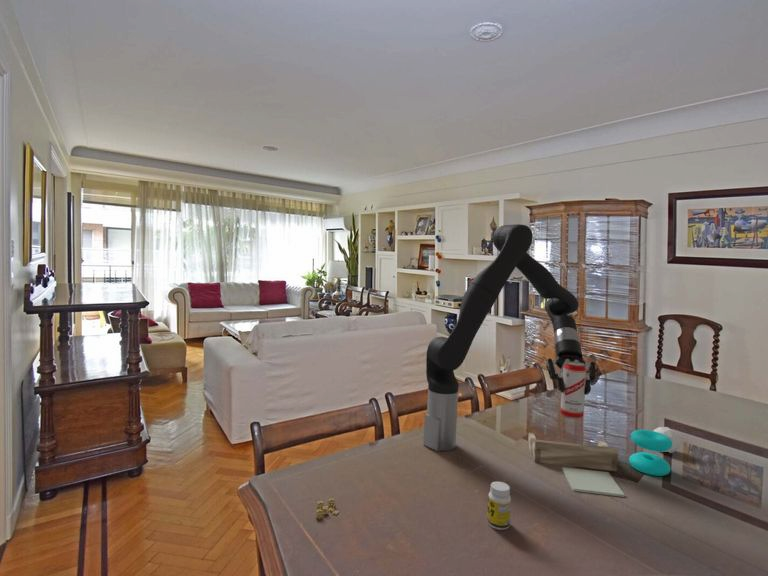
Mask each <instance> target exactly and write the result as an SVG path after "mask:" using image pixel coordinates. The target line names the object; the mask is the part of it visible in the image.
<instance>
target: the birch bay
mask: <svg viewBox="0 0 768 576" xmlns="http://www.w3.org/2000/svg"><path fill="white" fill-rule="evenodd" d="M535 435H536V434H535V432H528V437H527V446H528V448H529V451H530V454H531V457H532V460H533V461H534V463H540V464H550V465H557V466H558V465H559V466H564V467H566V466H568V467H573V468H575V467H576V468H586V469H594V470H600V471H612V472H618V463H619V449H618V448H617V447H610V446H609V445H608V444H607V443H606V441H605V440H604V439H597V445H593V444H592V445H591V444H580V443H570V442H563V441H562V442H561V441H551V440H542V439H537V438H536V436H535Z"/></svg>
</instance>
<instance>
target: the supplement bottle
mask: <svg viewBox="0 0 768 576" xmlns="http://www.w3.org/2000/svg"><path fill="white" fill-rule="evenodd" d="M489 488H490V489H489V492H488V496H487V514H486V520H487V521H486V523H487V524H488V525H489V527H491V528H492V529H494V530H500V531H501V530H502V531H503V530H507V529H508V528H510V525H511V507H512V505H511V503H512V498H511V495H510V494H511V491H510V490H511V488H510V485H509V484H507V483H505V482H502V481H493V482H491V483H490V487H489Z"/></svg>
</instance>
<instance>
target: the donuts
mask: <svg viewBox="0 0 768 576" xmlns="http://www.w3.org/2000/svg"><path fill="white" fill-rule="evenodd" d="M630 439H631V441H632V443H634V444H635V445H636V446H638V447H640V448H642V449H644V450H647V451H651V452H660V453H663V452H662V451H667V450H669V449H670V448H671V447H672V441H671V439H670V438H669V437H667V436H666V435H664V434H661V433H658V432H655V431H653V430H649V429H635V430H633V431H632V432H631V434H630ZM628 461H629V464H630V465H631V467H632V468H633V469H635V470H637V471H638V472H640V473H643V474H647V475H649V476H656V477H657V476H658V477H663V476H667V475H668V474H670V472H671V465H670V464H669V462H668V461H667V460H666V459H665V458H664V457H661V456H659V455H656V454H653V453H650V452H643V451H642V452H641V451H640V452H635V453H633V454H632V455H630V456H629V459H628Z"/></svg>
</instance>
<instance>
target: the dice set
mask: <svg viewBox="0 0 768 576" xmlns="http://www.w3.org/2000/svg"><path fill="white" fill-rule="evenodd" d="M335 506H336V499H335V498H329V499H328V505H325V503H324V501H321V500H320V501H317V502H316V511H315V518H316V519H317V520H322V519H323V518H324V516H326V515H328V514H329V512H332V515H334V516H337V515H338V514H339V510H335ZM328 508H329V509H328Z"/></svg>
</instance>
